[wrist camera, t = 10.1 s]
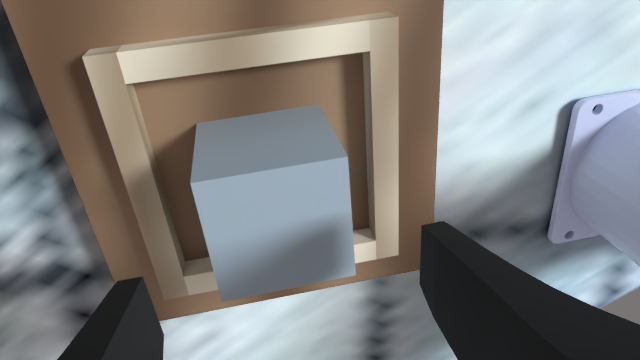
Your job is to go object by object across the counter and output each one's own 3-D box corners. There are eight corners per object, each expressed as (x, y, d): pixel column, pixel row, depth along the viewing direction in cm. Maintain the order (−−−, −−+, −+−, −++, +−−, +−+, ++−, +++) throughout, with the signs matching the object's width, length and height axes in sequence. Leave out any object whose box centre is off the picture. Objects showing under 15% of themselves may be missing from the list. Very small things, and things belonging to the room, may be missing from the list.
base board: (428, -61, 17) (460, -58, 15) (419, 248, 24) (439, 281, 21) (16, -17, 15) (-19, -6, 13) (137, 302, 22) (128, 344, 20)
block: (318, 104, 17) (348, 156, 13) (328, 205, 20) (355, 275, 16) (196, 123, 17) (190, 183, 13) (221, 224, 19) (221, 302, 15)
